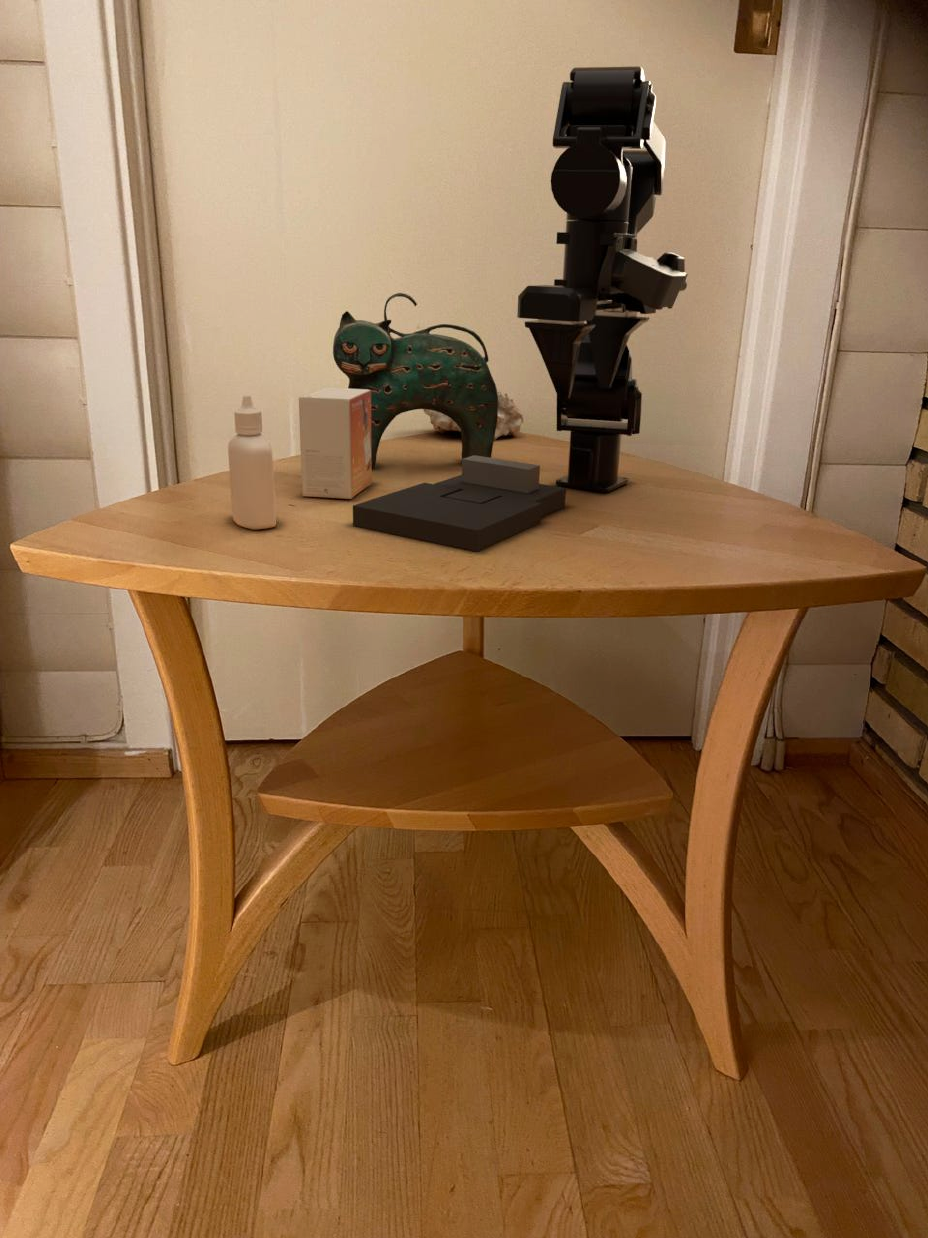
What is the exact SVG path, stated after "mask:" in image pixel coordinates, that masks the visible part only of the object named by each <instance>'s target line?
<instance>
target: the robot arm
mask: <svg viewBox="0 0 928 1238" xmlns="http://www.w3.org/2000/svg"><path fill="white" fill-rule="evenodd" d="M656 104H657V95H656V94H655V93H654V92H653V83H652V84H651V81H650V80H646V77H645V72H644V69H643V67H642V66H637V65H635V66H591V67H590V66H587V67H586V66H585V67H584V66H583V67H582V66H580V67H577V66H576V67H573V68H572V69H571V70H570V72H569V81H563V82H562V85H561V88H560V94H559V100H558V105H557V106H558V107H557V112H556V117H555V124H554V128H553V129H554V130H553V135H552V147H553V148H554V149H565V150H564V151H563V152H562V153H561V154H560V155H559V157H558V158H557V160H556V161H555V164H554V166H553V168H552V171H551V174H550V190H551V192H552V195H553V199H554V201H555V202H556V204H557V205H558V206H559V208H560V209H562V211H564V212H565V213H566V215H565V216H566V218H565V231H562V232H560V231H556V245H564V248H563V249H564V250H563V267H562V278H555V279H554V280H553V285H551V284H538V285H537V284H536V285H527V286H526V287H525V288H524V289H523V290H522V291H521V292H520V293H519V294H518V296H517V315H516V316H517V319H529V320H525V321H524V327H525V328H526V329H529V331H530V334H531V336H532V338H533V340H534V342H535V344H536V347H537V349H538V351H539V353H540V355H541V358H542V360H543V363H544V365H545V367H546V370H547V373H548V376H549V378H550V381H551V383H552V386H553V388H554V391H555V393H556V432H562V431H564V432H570V434H569V435H570V436H569V448H568V449H569V451H568V464H567V465H568V466H567V475H564V476H562V477H559V478H557V479H555V485H558V486H565V487H569V488H575V489H583V490H587V491H596V492H600V493H608V492H610V491H613V490H615V489H617V488H620V487H622V486H624V485H626V484H628V483H629V480H630V479H629V478H628V477H623V476H619V470H620V469H619V468H620V456H621V444H622V436H626V437H632V436H633V435H639V434H640V433H641V421H642V407H643V406H642V404H643V403H642V402H643V393H642V392H641V390H640V389H639V385H638V379H636V378H633V361H632V360H633V359H632V355H631V354H630V349H629V346H628V345H627V344H628V342H629V339H630V337H631V335H632V334H633V333H634V332H635V331H636V330H638V329H639V328H640V327H641V326H642V325H644V324H646V323H647V322H648V321H649V320H650V317H649V316H638V313H640V315H652V314H656V313H657V311H660V310H663V309H664V308H667V309H670V310H671V309H673V307H674V305H675V302H676V301H677V298H678V295H679V293H680V292H683V291H685V290H686V289H687V288H688V283H687V278H688V275H689V273H687V272H686V269H685V268H686V267H685V266H686V264H685V263H686V262H685V260H686V259H685V257H683V256H681V255H679V254H676V253H674V252H667V251H666V252H664V253H663V254H662V255H660V256H659V257H658V258H657V259H655V257H652V256H646V255H644V254H641V253H640V252H638V250H637V249H638V239H637V238H638V234H639V233H640V231H641V230H642V229H643V228H644V227H645V226H646V225H647V224H648V223H649V221H651V220H652V218H653V217H654V214H655V207H656V200H657V196H662V195H663V190H664V180H665V168H666V167H665V165H666V164H665V163H666V138H665V136H664V135H663V133H662V131H661V130H660V129H659V127H658V125H656V123H655V121H654V118H655V111H656ZM643 147H644V148H645V150H643ZM585 322H586V323H585ZM623 420H627V422H623Z"/></svg>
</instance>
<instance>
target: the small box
mask: <svg viewBox="0 0 928 1238" xmlns="http://www.w3.org/2000/svg"><path fill="white" fill-rule="evenodd" d="M298 416H299V418H298V419H299V444H300V445H299V446H300V447H299V448H300V473H301V493H302V496H303V497H313V498H328V499H343V500H345V499H346V500H352V499H354V497H356V495H358V494H359V493H360V492H362V491H363V490H365V489H366V488H368V487H370V486H371V485H372V483H373V477H372V475H373V474H372V473H373V471H372V470H373V469H372V468H371V390H366V389H348V387H346V388H345V387H344V388H343V387H329V386H327V387H326V386H325V387H324V386H323V387H322V388H320V389H319V390H316V391H314V392H311V393H308V394H306V395H301V396H299V397H298Z"/></svg>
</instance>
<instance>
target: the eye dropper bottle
mask: <svg viewBox="0 0 928 1238" xmlns="http://www.w3.org/2000/svg"><path fill="white" fill-rule="evenodd" d="M233 413H234V415H233V416H234V428H235V429H234V430H235V431H234V432H235V433H236V435H234V436H233V437H231V438H230V439H229V441H228V445H227V452H228V453H227V454H228V469H229V483H230V498H231V499H230V500H231V514H232V520H233V522H234V523H235V524H236V525H238V526H240V527H242V528H245V529H249V530H254V531H255V530H258V531H259V530H264V529H271V528H275V527H276V525H277V509H276V492H275V489H276V488H275V473H274V472H275V471H274V457H273V449H272V446H271V444H270V442H269V441H268V439H267V438H266V437H265V436H264V435H263V417H262V416H263V415H262V411H261V410H260V409H258V408H256V407H255V405H254V403H253V398H252V395H250V394H248V395H247V394H245V395H242V401H241V406H240V408H238V409H236V410H235V411H234V412H233Z"/></svg>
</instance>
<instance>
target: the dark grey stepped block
mask: <svg viewBox="0 0 928 1238" xmlns="http://www.w3.org/2000/svg"><path fill="white" fill-rule="evenodd" d="M540 472H541V465H540V464H534V463H528V462H521V461H513V460H508V459H501V458H494V457H491V458H489V457H482V456H476V455H473V456H470V457H467V458H464V459H462V458H461V474H459V475H456V476H452V477H449V478H447V479H443V480H441V481H438V482H434V484H435V485H441V486H447V487H453V488H458V489H460V491H459V492H456V493H453V494H450V495H447V496H445V498H450V499H456V500H461V501H467V502H472V503H478V504H484V503H486V502H489V501H491V500H494V499H497V498H499V497H502V496H504V497H510V498H516V499H521V500H527V501H533V502H538V503H542V509H541V518H543V517H545V516H546V515H548V514H551V513H553V512H556V511H558V510H560V509H563V508H564V507H566V497H567V496H566V495H567V487H562V486H556V485H550V484H545V483H544V484H543V483H540Z"/></svg>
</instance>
